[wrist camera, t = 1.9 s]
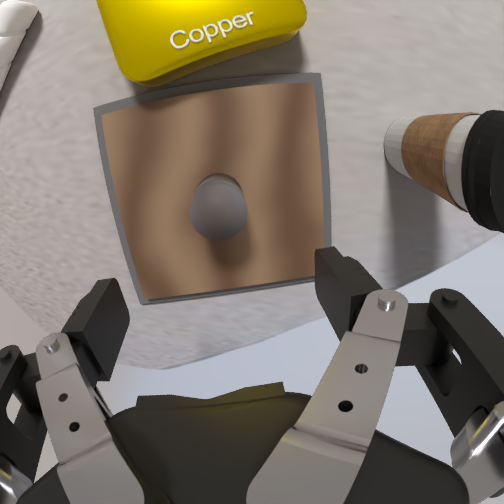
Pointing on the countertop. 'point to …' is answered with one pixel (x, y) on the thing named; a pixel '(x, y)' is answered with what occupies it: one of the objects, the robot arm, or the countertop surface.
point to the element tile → (193, 33)
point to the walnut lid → (219, 187)
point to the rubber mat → (202, 88)
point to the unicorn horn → (13, 31)
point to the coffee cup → (454, 160)
